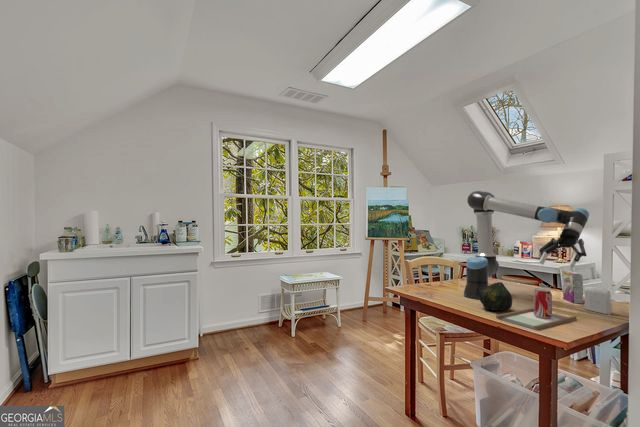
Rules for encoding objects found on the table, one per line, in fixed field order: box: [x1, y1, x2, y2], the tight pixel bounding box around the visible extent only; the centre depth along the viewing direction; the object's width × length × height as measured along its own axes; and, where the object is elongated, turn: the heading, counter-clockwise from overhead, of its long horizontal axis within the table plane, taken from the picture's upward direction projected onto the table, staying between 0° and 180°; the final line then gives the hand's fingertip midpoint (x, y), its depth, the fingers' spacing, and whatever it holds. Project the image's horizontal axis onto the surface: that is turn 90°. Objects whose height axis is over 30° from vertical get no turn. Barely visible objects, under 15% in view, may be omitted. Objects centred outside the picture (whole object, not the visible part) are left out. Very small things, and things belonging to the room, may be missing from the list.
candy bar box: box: [561, 270, 584, 305], centre depth 179 cm, size 11×5×16 cm, turn 168°
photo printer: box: [584, 286, 612, 316], centre depth 158 cm, size 10×4×12 cm, turn 25°
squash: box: [479, 281, 513, 312], centre depth 164 cm, size 14×15×15 cm
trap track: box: [495, 306, 577, 331], centre depth 147 cm, size 18×31×2 cm, turn 116°
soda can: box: [533, 288, 553, 319], centre depth 150 cm, size 7×7×13 cm
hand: (555, 264), depth 156 cm, fingers open, 13 cm apart
